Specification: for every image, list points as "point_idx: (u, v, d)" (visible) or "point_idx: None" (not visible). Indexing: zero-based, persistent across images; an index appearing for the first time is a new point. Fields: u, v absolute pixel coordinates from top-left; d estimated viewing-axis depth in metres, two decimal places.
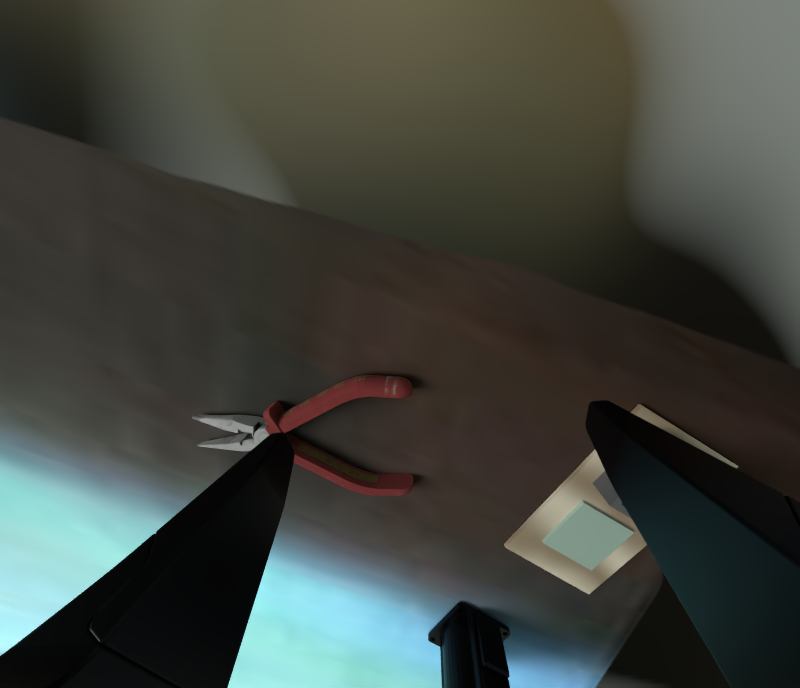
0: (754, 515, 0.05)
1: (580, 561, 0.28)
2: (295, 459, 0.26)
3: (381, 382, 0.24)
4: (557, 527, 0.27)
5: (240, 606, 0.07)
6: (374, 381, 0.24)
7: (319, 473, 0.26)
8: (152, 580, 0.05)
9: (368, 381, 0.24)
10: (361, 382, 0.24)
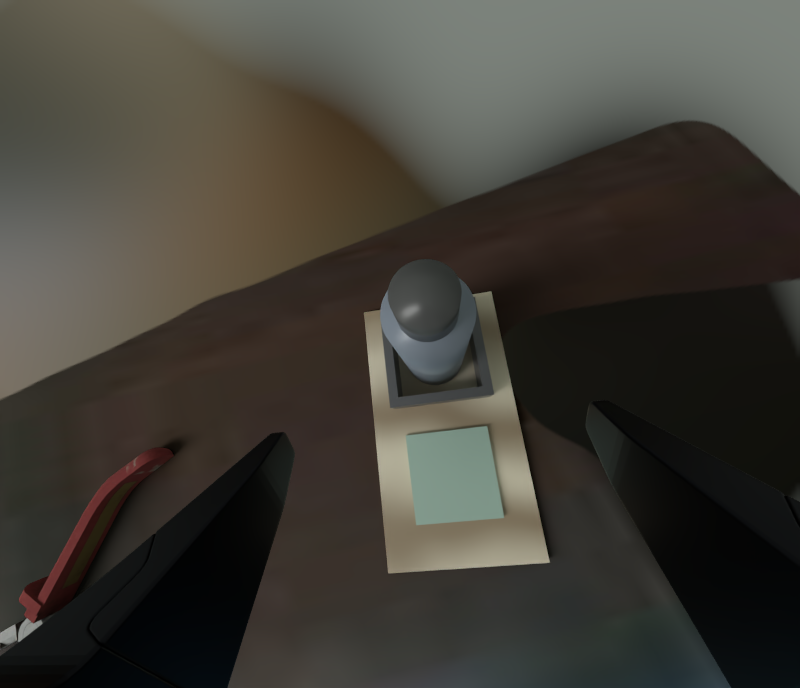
0: (754, 515, 0.05)
1: (479, 515, 0.19)
2: None
3: (126, 465, 0.22)
4: (412, 489, 0.20)
5: (240, 606, 0.07)
6: (120, 469, 0.22)
7: None
8: (152, 580, 0.05)
9: None
10: (108, 479, 0.22)
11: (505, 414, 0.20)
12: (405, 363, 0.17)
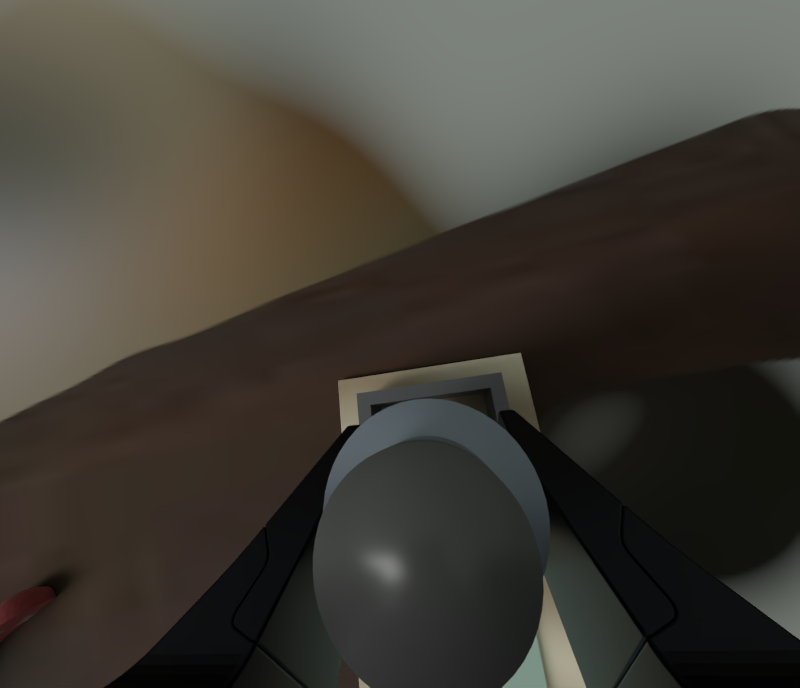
0: (586, 524, 0.05)
1: None
2: None
3: None
4: None
5: None
6: None
7: None
8: (283, 575, 0.05)
9: None
10: None
11: None
12: None
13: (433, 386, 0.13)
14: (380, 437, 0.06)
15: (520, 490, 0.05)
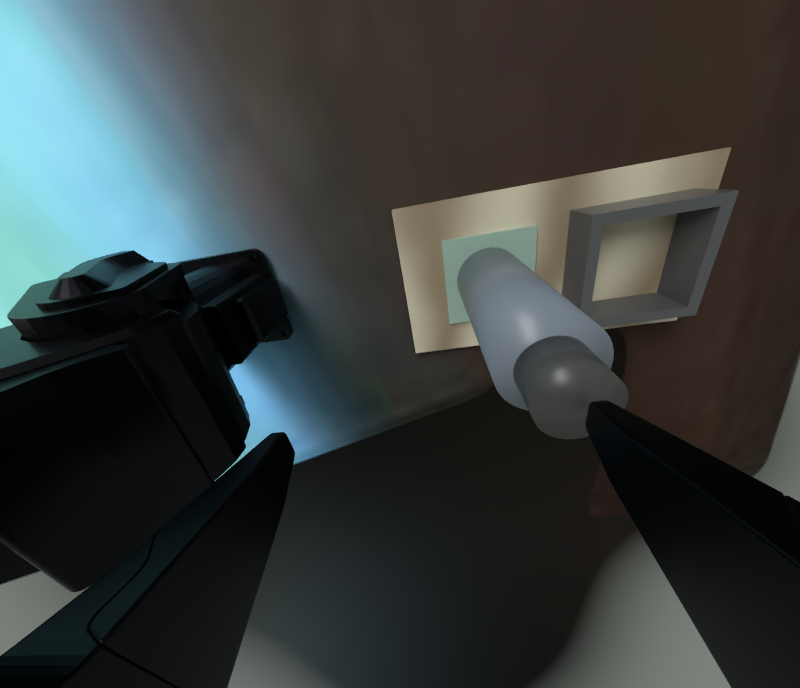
0: (754, 515, 0.05)
1: (451, 303, 0.20)
2: None
3: None
4: (476, 235, 0.18)
5: (240, 606, 0.07)
6: None
7: None
8: (152, 580, 0.05)
9: None
10: None
11: None
12: (488, 284, 0.14)
13: (710, 264, 0.16)
14: (597, 344, 0.10)
15: None
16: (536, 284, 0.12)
